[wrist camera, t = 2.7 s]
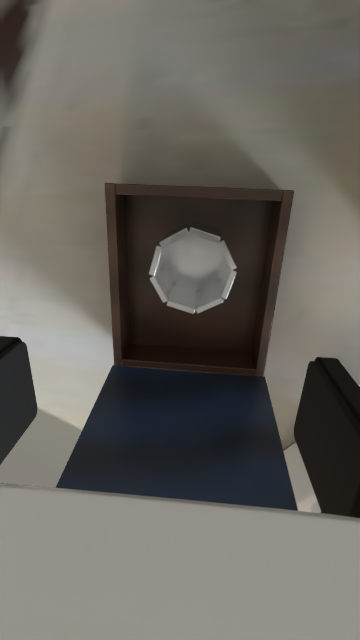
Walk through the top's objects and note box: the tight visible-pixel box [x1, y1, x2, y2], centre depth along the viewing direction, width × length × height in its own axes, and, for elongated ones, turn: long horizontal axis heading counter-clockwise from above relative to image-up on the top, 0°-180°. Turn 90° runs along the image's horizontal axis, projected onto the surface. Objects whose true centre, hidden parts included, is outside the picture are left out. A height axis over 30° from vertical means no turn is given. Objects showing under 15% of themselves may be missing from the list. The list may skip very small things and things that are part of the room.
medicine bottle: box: [283, 442, 322, 513], centre depth 33 cm, size 7×7×12 cm
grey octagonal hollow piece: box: [149, 221, 237, 314], centre depth 27 cm, size 7×7×6 cm
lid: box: [56, 365, 298, 511], centre depth 22 cm, size 17×15×1 cm
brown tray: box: [105, 183, 294, 377], centre depth 29 cm, size 17×15×4 cm
